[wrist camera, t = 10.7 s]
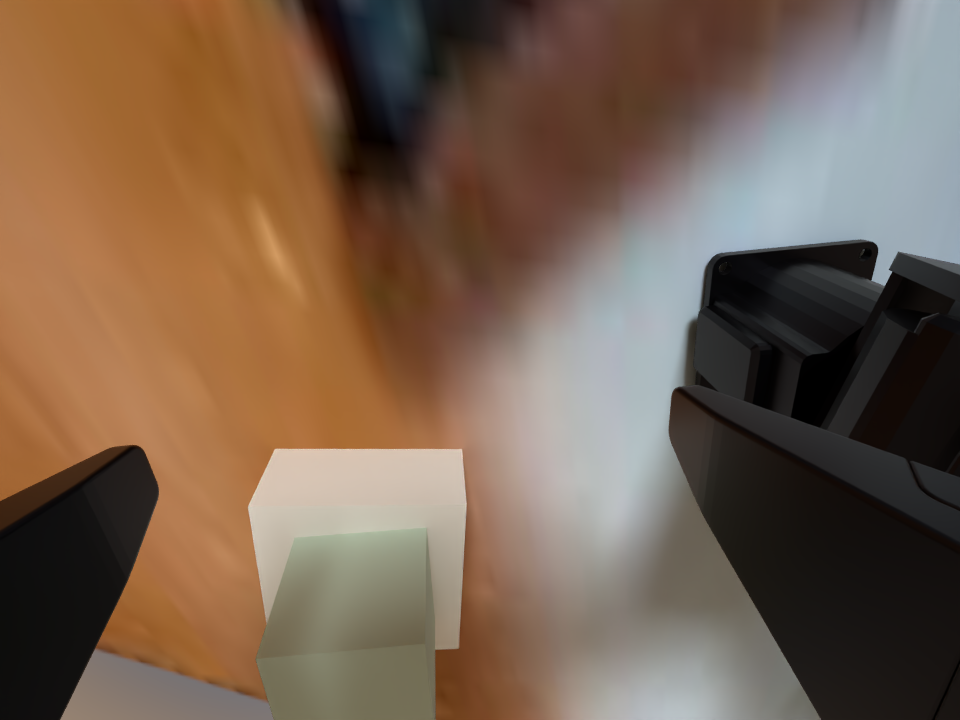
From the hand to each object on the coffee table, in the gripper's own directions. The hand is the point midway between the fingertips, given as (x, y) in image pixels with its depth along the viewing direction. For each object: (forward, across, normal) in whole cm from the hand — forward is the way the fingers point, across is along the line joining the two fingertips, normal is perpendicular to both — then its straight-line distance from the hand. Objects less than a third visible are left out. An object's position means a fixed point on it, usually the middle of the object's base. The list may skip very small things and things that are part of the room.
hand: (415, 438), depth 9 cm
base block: (+12, +4, +12) cm, 18 cm away
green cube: (+8, +4, +12) cm, 15 cm away
